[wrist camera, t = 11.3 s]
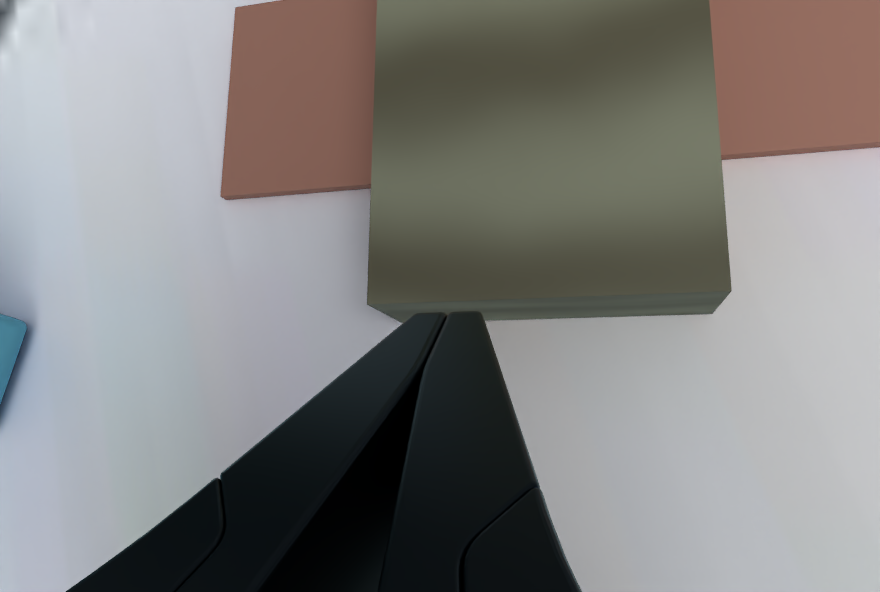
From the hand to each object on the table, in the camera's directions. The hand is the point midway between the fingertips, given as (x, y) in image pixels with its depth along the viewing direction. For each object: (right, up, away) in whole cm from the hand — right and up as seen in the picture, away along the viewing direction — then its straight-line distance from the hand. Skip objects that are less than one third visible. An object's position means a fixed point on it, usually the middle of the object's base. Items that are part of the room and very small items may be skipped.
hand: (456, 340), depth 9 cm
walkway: (+3, +11, +16) cm, 19 cm away
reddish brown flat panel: (+3, +9, +15) cm, 18 cm away
